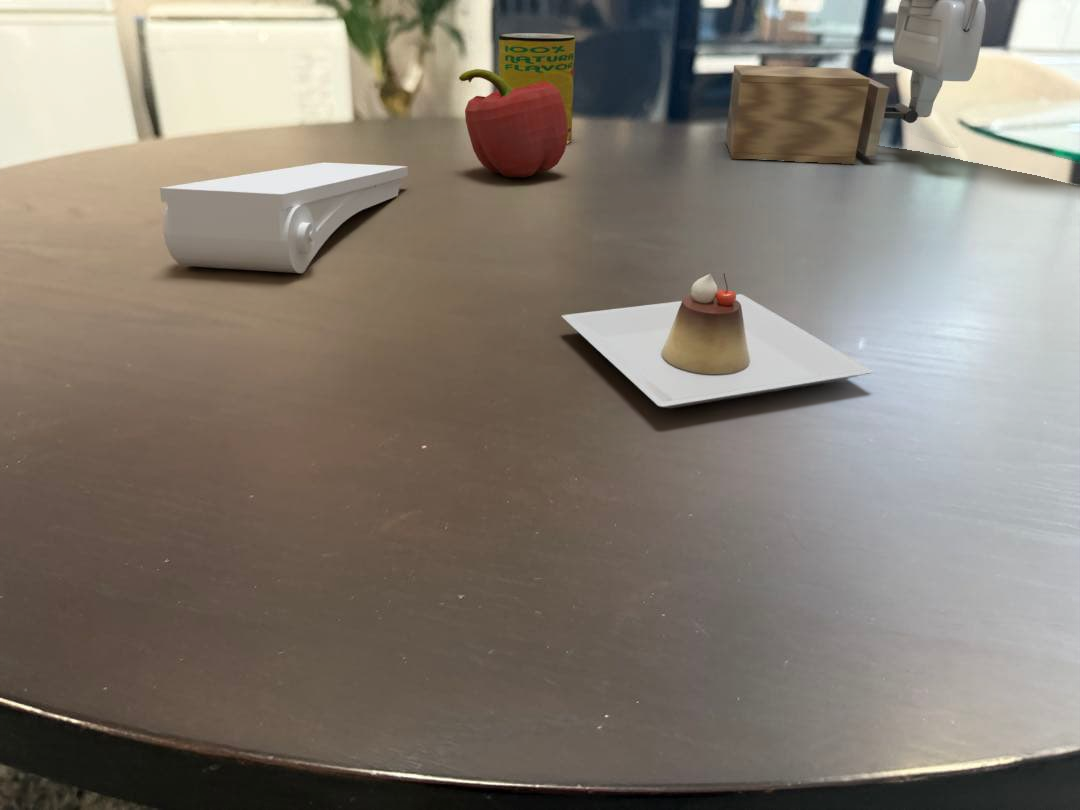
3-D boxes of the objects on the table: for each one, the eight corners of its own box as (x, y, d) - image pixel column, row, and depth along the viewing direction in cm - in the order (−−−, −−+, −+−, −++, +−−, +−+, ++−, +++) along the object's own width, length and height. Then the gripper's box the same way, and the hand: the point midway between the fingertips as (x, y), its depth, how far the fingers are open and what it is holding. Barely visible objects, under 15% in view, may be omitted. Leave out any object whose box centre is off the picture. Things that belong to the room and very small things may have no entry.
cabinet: (835, 146, 104) (849, 68, 100) (854, 164, 94) (870, 78, 90) (725, 141, 106) (734, 64, 102) (731, 159, 96) (741, 74, 91)
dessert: (870, 391, 42) (891, 301, 40) (657, 428, 38) (666, 330, 36) (739, 310, 52) (749, 234, 50) (560, 333, 48) (562, 252, 46)
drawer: (892, 142, 103) (905, 78, 99) (915, 158, 93) (930, 89, 90) (754, 136, 104) (762, 74, 101) (762, 151, 95) (772, 83, 92)
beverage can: (579, 146, 101) (584, 38, 96) (506, 147, 99) (507, 37, 94) (561, 133, 109) (564, 33, 103) (493, 135, 107) (492, 32, 102)
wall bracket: (329, 241, 82) (175, 302, 56) (307, 166, 80) (137, 193, 54) (425, 220, 80) (312, 274, 54) (405, 143, 78) (278, 159, 52)
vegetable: (449, 181, 82) (446, 73, 78) (473, 161, 92) (471, 63, 87) (558, 187, 81) (561, 77, 76) (572, 166, 90) (575, 67, 86)
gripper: (1014, -19, 80) (976, 131, 87) (950, -19, 98) (923, 105, 105) (946, -20, 81) (913, 128, 87) (894, -20, 99) (871, 103, 105)
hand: (918, 115), depth 96 cm, fingers closed, pressing on drawer
